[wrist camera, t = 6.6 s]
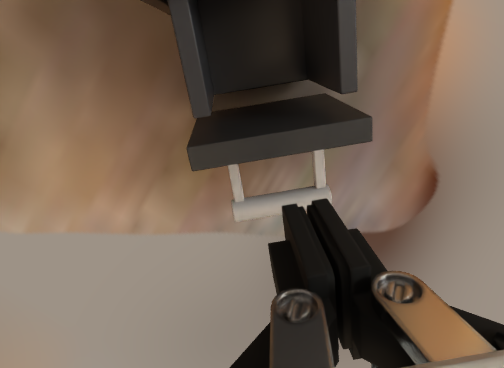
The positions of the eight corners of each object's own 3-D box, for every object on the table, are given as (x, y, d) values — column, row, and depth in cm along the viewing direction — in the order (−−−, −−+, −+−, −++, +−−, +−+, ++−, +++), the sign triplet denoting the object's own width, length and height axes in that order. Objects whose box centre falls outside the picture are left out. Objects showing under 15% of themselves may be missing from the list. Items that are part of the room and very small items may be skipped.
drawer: (330, 175, 25) (372, 229, 18) (215, 195, 25) (212, 256, 18) (313, -118, 18) (372, -224, 11) (153, -93, 18) (107, -183, 11)
